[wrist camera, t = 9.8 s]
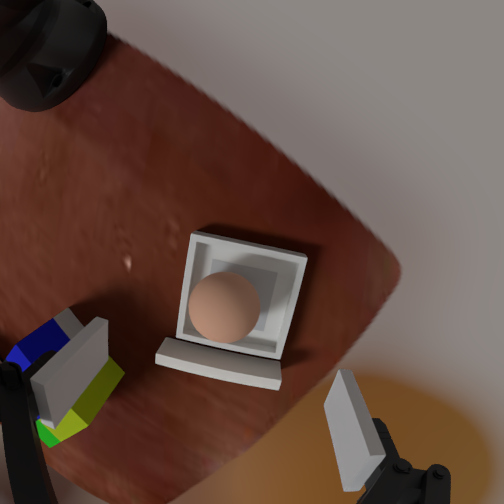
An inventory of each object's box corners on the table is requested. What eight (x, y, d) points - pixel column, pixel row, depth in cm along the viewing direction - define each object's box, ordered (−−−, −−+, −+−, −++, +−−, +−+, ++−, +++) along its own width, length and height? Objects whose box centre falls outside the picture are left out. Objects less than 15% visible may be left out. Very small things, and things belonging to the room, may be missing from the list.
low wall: (166, 337, 31) (155, 353, 27) (280, 361, 31) (281, 380, 27) (165, 346, 31) (155, 363, 28) (277, 370, 31) (278, 390, 28)
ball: (216, 258, 29) (180, 269, 24) (276, 277, 27) (251, 294, 22) (205, 316, 30) (170, 337, 25) (261, 337, 28) (235, 365, 23)
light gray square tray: (195, 230, 28) (191, 233, 27) (304, 253, 28) (307, 258, 27) (180, 329, 30) (175, 337, 29) (279, 350, 31) (279, 359, 29)
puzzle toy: (68, 307, 31) (15, 344, 21) (125, 372, 32) (88, 425, 22) (34, 345, 32) (-10, 381, 23) (84, 401, 34) (49, 447, 24)
